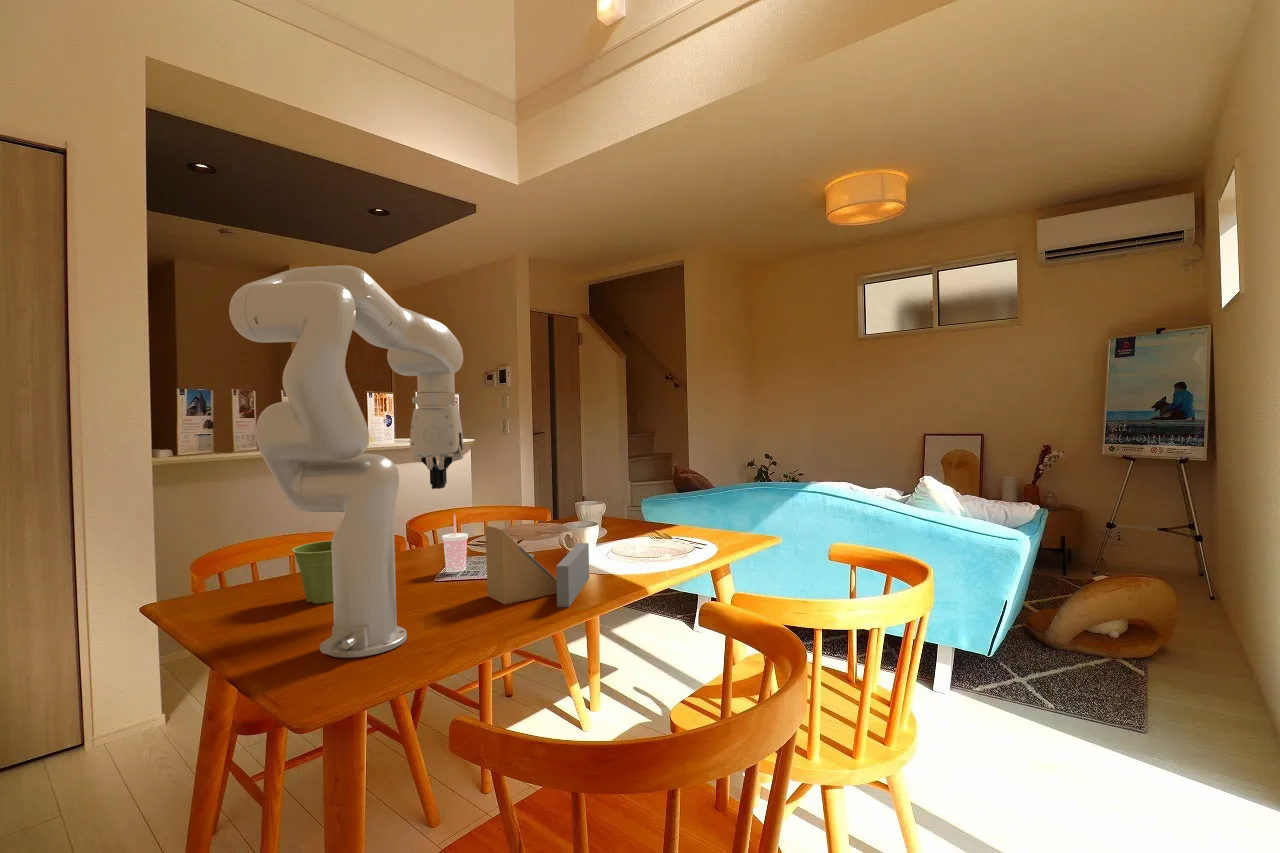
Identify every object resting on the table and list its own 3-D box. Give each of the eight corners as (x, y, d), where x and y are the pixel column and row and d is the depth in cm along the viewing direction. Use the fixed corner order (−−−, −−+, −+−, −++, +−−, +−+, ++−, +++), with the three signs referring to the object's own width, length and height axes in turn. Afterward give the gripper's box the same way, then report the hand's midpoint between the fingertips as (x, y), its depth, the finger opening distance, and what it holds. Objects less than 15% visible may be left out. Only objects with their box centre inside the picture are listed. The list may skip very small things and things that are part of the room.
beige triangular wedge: (571, 591, 133) (569, 521, 133) (504, 605, 124) (502, 530, 124) (551, 583, 140) (549, 516, 140) (487, 596, 131) (485, 524, 131)
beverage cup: (441, 570, 153) (439, 514, 153) (466, 567, 156) (465, 511, 156) (444, 576, 148) (443, 517, 147) (471, 573, 150) (469, 515, 150)
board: (569, 607, 122) (568, 566, 121) (557, 607, 122) (556, 566, 122) (589, 577, 143) (588, 543, 143) (579, 577, 144) (578, 543, 144)
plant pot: (286, 599, 131) (285, 546, 131) (346, 588, 139) (345, 538, 139) (301, 612, 122) (299, 554, 122) (364, 599, 130) (363, 545, 130)
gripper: (394, 402, 130) (396, 490, 130) (463, 400, 128) (465, 489, 128) (411, 403, 137) (413, 486, 137) (477, 401, 136) (478, 486, 136)
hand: (438, 487), depth 133 cm, fingers closed
